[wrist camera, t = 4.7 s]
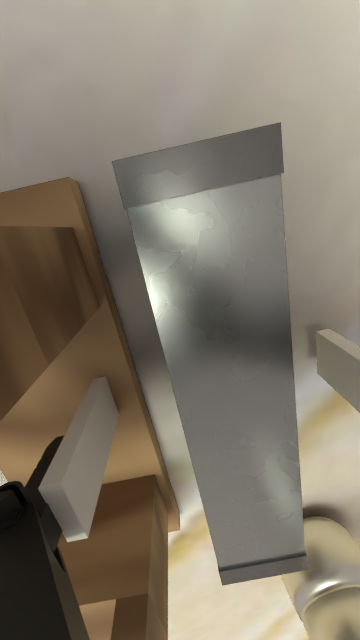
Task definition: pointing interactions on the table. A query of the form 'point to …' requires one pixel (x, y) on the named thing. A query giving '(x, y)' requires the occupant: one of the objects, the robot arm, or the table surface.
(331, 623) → the plastic bottle
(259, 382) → the rail
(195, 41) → the table surface
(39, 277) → the brown wooden u-shaped block
